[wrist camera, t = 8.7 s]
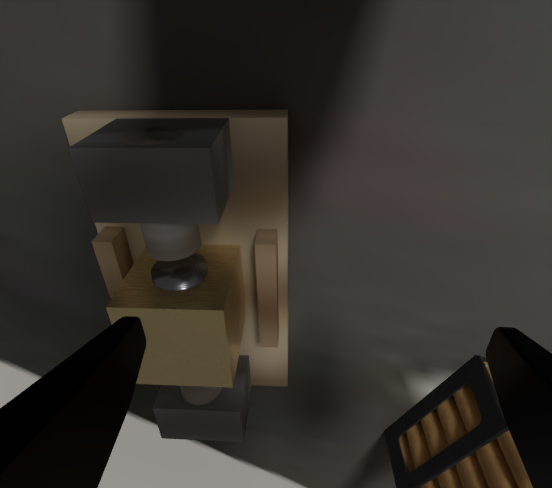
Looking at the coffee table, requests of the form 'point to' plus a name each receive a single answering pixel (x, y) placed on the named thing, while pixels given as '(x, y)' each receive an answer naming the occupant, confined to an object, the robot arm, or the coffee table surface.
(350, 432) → the coffee table surface
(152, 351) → the block
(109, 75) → the coffee table surface
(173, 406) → the shaft stand
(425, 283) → the coffee table surface
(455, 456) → the ammunition clip
